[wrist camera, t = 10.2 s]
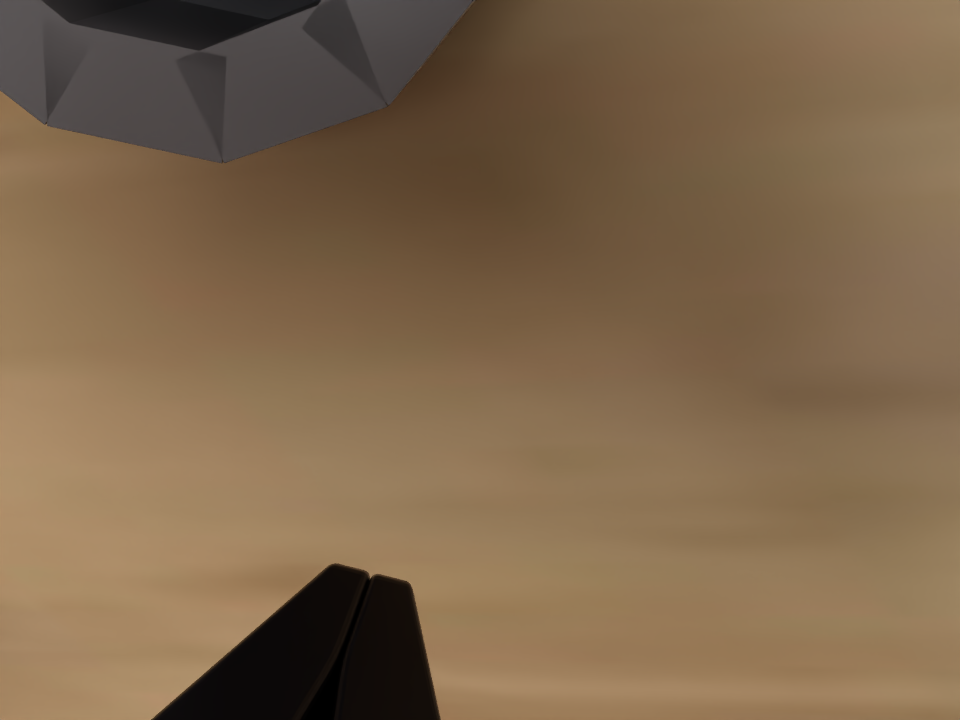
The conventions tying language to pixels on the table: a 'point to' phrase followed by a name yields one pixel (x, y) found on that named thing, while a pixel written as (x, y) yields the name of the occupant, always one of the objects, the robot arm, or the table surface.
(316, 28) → the grey ring
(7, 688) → the table surface
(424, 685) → the robot arm
